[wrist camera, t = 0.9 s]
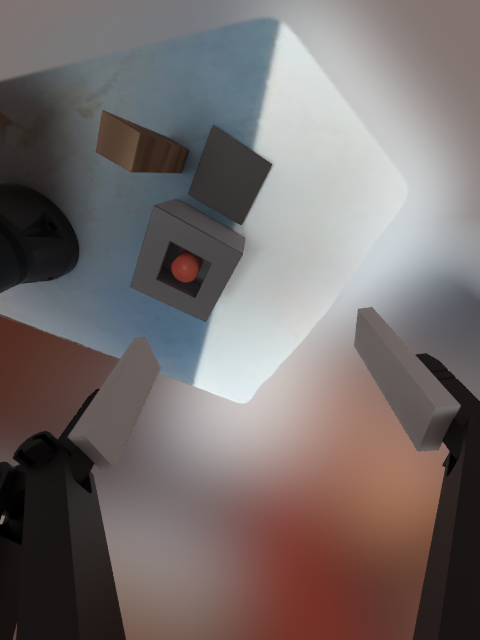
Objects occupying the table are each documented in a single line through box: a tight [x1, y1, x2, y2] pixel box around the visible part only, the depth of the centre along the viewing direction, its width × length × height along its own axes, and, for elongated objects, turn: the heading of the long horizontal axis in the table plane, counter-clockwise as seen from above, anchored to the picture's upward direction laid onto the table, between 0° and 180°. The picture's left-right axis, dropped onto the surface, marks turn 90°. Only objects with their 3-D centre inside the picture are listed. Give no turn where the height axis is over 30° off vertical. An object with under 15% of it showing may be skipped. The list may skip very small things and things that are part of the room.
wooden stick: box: [96, 110, 188, 173], centre depth 26 cm, size 3×3×16 cm
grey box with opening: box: [130, 199, 245, 322], centre depth 36 cm, size 12×12×9 cm
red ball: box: [171, 250, 203, 282], centre depth 34 cm, size 4×4×4 cm
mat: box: [188, 125, 272, 225], centre depth 33 cm, size 9×9×1 cm
